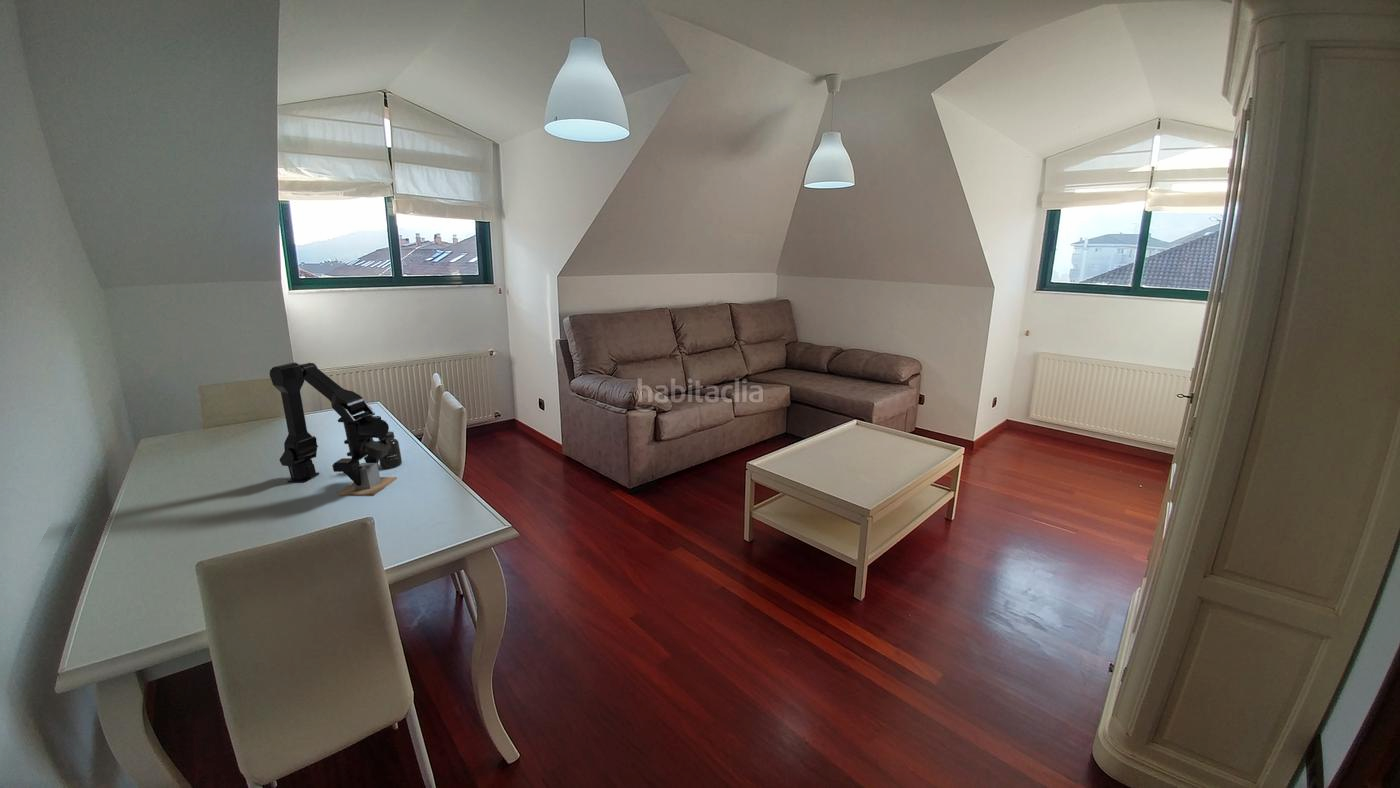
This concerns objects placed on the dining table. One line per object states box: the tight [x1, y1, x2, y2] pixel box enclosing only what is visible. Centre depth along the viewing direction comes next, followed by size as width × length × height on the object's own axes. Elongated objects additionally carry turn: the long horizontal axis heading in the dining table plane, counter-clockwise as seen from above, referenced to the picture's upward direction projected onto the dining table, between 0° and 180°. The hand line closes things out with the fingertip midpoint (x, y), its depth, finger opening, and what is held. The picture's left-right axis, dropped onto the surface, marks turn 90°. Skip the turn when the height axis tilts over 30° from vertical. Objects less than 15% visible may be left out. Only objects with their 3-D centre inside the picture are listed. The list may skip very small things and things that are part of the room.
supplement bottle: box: [377, 431, 403, 470], centre depth 189 cm, size 7×7×12 cm
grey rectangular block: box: [353, 462, 381, 489], centre depth 173 cm, size 5×5×7 cm
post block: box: [336, 476, 398, 496], centre depth 173 cm, size 12×12×6 cm
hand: (366, 480), depth 173 cm, fingers open, 7 cm apart
